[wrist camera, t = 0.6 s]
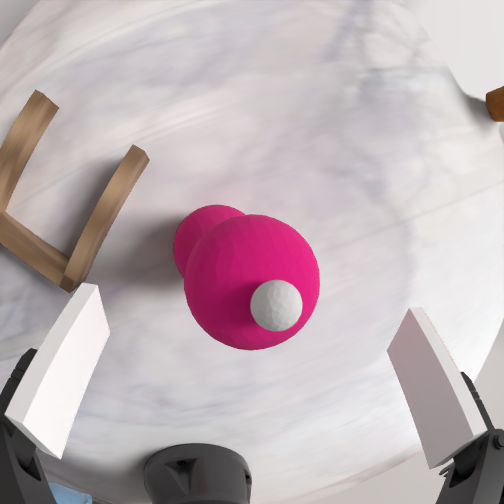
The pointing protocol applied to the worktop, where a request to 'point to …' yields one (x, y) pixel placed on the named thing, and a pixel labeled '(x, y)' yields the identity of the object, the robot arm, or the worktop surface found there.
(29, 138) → the u rest
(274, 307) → the pepper mill
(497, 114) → the disposable coffee cup
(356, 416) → the worktop surface
